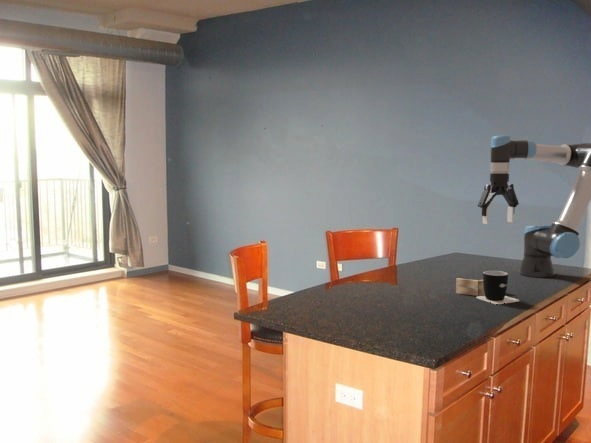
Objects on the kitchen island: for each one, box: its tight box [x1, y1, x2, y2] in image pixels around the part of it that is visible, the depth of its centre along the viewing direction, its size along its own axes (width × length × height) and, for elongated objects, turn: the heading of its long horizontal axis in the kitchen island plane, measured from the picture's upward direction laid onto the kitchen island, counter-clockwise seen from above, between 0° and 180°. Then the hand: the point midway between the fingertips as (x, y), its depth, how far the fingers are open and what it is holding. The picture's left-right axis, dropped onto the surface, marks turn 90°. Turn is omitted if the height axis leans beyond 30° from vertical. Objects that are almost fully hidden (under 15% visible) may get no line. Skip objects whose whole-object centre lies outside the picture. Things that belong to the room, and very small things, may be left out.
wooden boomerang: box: [455, 277, 485, 297], centre depth 232 cm, size 18×8×6 cm, turn 114°
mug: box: [482, 270, 509, 301], centre depth 221 cm, size 12×9×10 cm
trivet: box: [476, 295, 520, 305], centre depth 221 cm, size 11×11×1 cm
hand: (497, 223), depth 244 cm, fingers open, 13 cm apart
